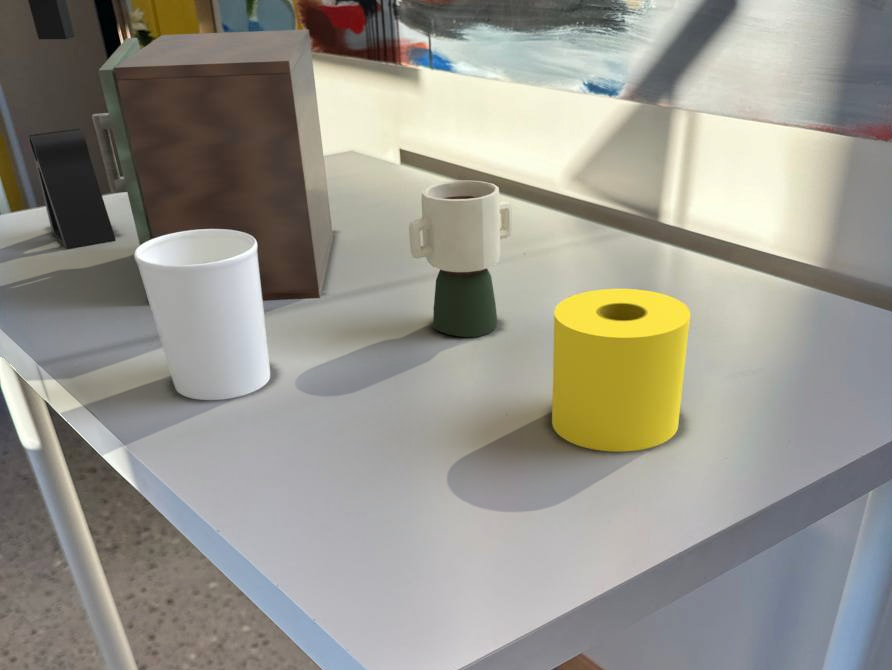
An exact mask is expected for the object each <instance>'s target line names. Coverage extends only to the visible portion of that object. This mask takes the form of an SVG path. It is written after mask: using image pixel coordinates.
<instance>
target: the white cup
mask: <svg viewBox="0 0 892 670" xmlns="http://www.w3.org/2000/svg"><path fill="white" fill-rule="evenodd" d="M257 248H258V245H257V241H256V239H255V238H254V237H253V236H251V235H249V234H247V233H244V232H240V231H235V230H227V229H200V230H189V231H182V232H176V233H172V234H167V235H163V236H160V237H157V238H154V239H151V240H149V241H147V242H145V243H143V244H141V245H140V244H139V245H138V247H136V249H135V250H134V253H133V257H134V260H135V262H136V264H137V268H138V270H139V274H140V277H141V280H142V284H143V287H144V290H145V294H146V298H147V301H148V304H149V307H150V311H151V314H152V317H153V320H154V323H155V327H156V330H157V333H158V337H159V341H160V344H161V347H162V350H163V351H162V352H163V354H164V357H165V359H166V360H165V361H166V364H167V367H168V370H169V373H170V376H171V380H172V383H173V385H174V388H175V390H176V392H177V393H178V394H180V395H182V396H183V397H186V398H189V399H194V400H199V401H200V400H201V401H219V400H228V399H234V398H239V397H243V396H245V395H248V394H251V393H253V392H256V391H257V390H259V389H261V388H263V387H264V386H265V385H267V383H268V382H269V381H270V380H271V379H270V378H271V368H270V367H271V365H270V356H269V345H268V337H267V328H266V327H267V326H266V317H265V309H264V308H265V307H264V301H263V299H262V290H261V281H260V272H259V263H258V252H257Z"/></svg>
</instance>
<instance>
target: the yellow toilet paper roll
mask: <svg viewBox="0 0 892 670" xmlns="http://www.w3.org/2000/svg"><path fill="white" fill-rule="evenodd" d="M690 321H691V310H690V309H689V307H688V306H687V304H685V303H684V302H683V301H681V300H679V299H677V298H675V297H672V296H671V295H667V294H664V293H661V292H656V291H651V290H645V289H636V288H604V289H596V290H590V291H584V292H580V293H577V294H574V295H571V296H568V297H566V298H565V299H562V301H560V302H559V303H558V304H556V306H555V308H554V311H553V354H552V355H553V356H552V359H553V360H552V364H553V365H552V401H551V403H552V404H551V406H552V407H551V411H552V412H551V424H552V428H553V430H554V431H555V432H556V434H557V435H558V436H560V437H561V438H562V439H564V440H565V441H567V442H569V443H571V444H574V445H576V446H579V447H582V448H585V449H586V448H587V449H590V450H595V451H600V452H601V451H602V452H616V453H617V452H618V453H619V452H620V453H621V452H635V451H641V450H646V449H651V448H654V447H656V446H657V447H658V446H659V445H662V444H664V443H665V442H667V441H669V440H670V439H671V438H673V437H674V436H675V434H676V433H677V431H678V428H679V423H680V422H679V420H680V412H681V405H682V394H683V386H684V385H683V384H684V376H685V366H686V357H687V348H688V342H689V341H688V340H689V332H690Z"/></svg>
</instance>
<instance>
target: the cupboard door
mask: <svg viewBox="0 0 892 670" xmlns="http://www.w3.org/2000/svg"><path fill="white" fill-rule="evenodd" d="M140 50H141V47H140V43H139V39H138V37H126V38H125V39H124V41H123V42H122V43H121V44H120V45H119V46H118V47H117V48H116V50H115V51H114V52H113V53H112V54H111V55H110V57H108V59H107V60H106V61H105V62H104V63H103V65H102V66H101V67H100V68H99V69H98V75H99V79H100V84H101V88H102V91H103V96H104V100H105V105H106V109H107V112H102V113H100V112H99V113H93V114H92V115H91V118H92V121H93V125H94V130H95V133H96V137H97V142H98V146H99V150H100V154H101V158H102V162H103V166H104V170H105V174H106V179H107V182H108V186H109V190H110V193H113V194H119V193H120V194H121V193H127V196H128V201H129V205H130V209H131V214H132V218H133V222H134V227H135V230H136V234H137V239H138V242H139V243H138V244H139V246H140V245H141V244H143V243H145V242H147V241H149V240H151V239H153V236H152V232H151V227H150V223H149V219H148V214H147V210H146V205H145V201H144V197H143V192H142V188H141V184H140V179H139V175H138V171H137V166H136V162H135V157H134V153H133V149H132V144H131V140H130V136H129V131H128V127H127V123H126V118H125V114H124V109H123V105H122V101H121V96H120V92H119V88H118V83H117V79H116V74H115V70H114V68H115V67H116V66H118V65H119V64H120V63H122V62H123V61H125V60H126V59H128V58H129V57H131V56H132V55H134V54H135V53H137V52H138V51H140ZM110 130H112V135H113V138H114V142H115V147H116V151H117V155H118V159H119V163H120V164H119V165H120V167H121V168H120V169H121V171H122V176H120V171H119V168H118V163H117V159H116V155H115V151H114V146H113V142H112V139H111V138H112V137H111V133H110Z"/></svg>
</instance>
